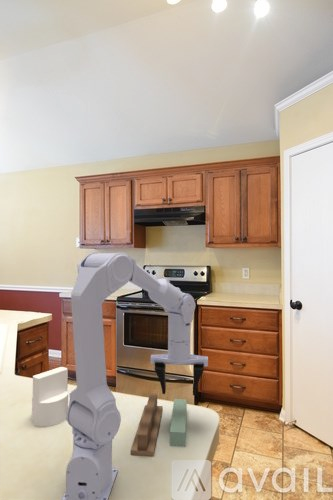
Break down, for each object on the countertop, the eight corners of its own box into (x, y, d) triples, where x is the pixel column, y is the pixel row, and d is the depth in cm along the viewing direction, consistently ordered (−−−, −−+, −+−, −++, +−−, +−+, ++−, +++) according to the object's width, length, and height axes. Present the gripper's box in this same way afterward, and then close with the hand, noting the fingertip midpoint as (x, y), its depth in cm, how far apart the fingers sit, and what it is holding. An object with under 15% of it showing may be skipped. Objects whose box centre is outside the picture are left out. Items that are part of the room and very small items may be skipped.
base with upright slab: (43, 431, 75) (44, 382, 75) (25, 419, 80) (25, 373, 81) (74, 416, 82) (75, 371, 82) (55, 405, 88) (56, 364, 88)
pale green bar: (185, 448, 69) (185, 432, 69) (169, 447, 70) (169, 431, 70) (186, 412, 85) (186, 399, 85) (174, 411, 85) (174, 398, 86)
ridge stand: (153, 456, 66) (153, 435, 66) (130, 454, 66) (130, 433, 66) (162, 409, 86) (162, 393, 86) (145, 408, 86) (145, 392, 86)
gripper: (207, 336, 81) (206, 387, 81) (153, 334, 82) (152, 385, 82) (208, 343, 74) (208, 399, 74) (149, 341, 75) (149, 397, 75)
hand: (179, 392), depth 78 cm, fingers open, 7 cm apart
